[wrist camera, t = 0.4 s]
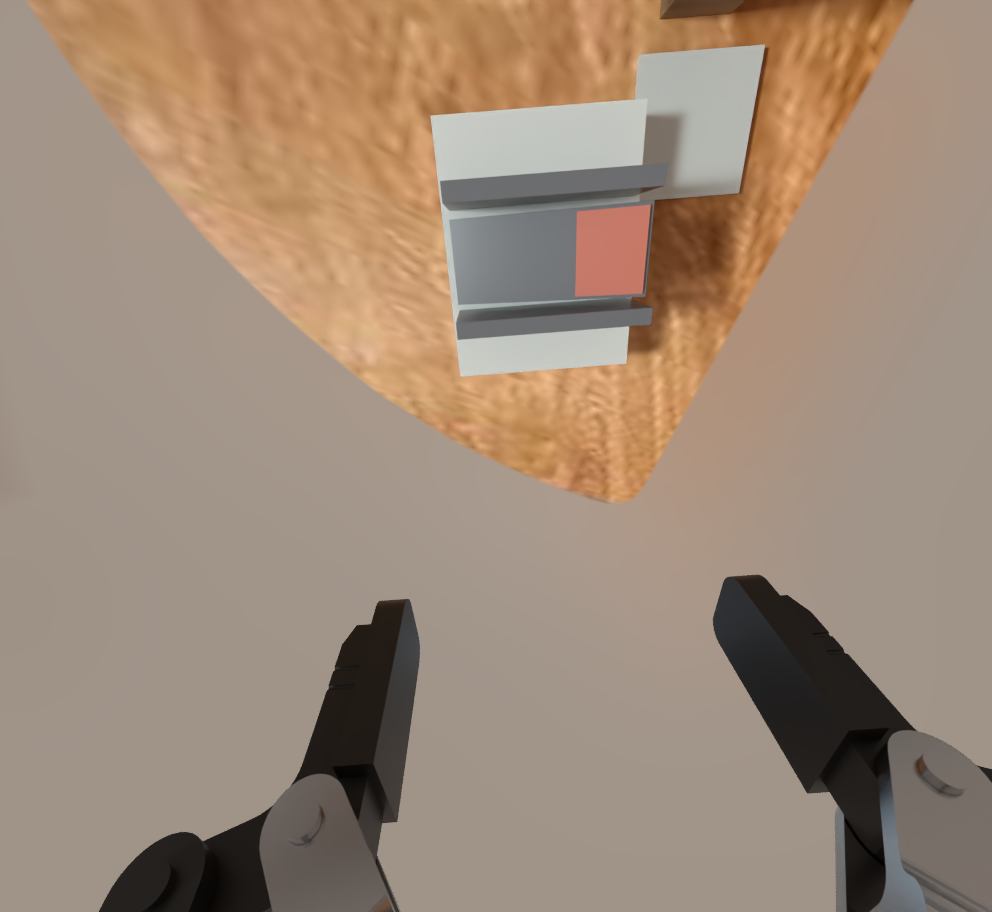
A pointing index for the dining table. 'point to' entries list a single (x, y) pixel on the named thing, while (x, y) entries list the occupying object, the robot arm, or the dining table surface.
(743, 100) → the mat
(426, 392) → the dining table surface
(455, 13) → the dining table surface
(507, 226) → the rocker
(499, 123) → the grey slotted holder
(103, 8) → the dining table surface
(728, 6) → the peg
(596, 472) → the dining table surface
